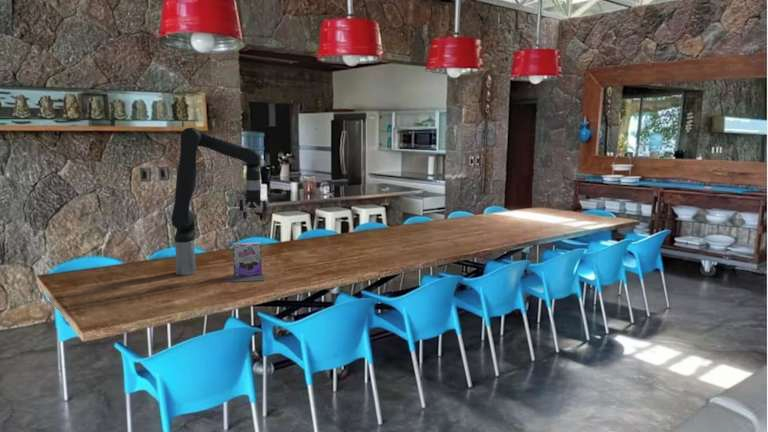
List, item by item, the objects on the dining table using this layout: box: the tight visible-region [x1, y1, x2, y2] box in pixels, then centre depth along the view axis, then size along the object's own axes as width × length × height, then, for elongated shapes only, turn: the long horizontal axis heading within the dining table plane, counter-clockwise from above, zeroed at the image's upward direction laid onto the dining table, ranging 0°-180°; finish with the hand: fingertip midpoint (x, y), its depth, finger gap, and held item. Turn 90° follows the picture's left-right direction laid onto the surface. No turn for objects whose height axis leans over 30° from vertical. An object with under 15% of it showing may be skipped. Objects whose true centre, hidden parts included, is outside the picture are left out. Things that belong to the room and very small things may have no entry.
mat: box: [226, 275, 266, 283], centre depth 268 cm, size 18×8×1 cm, turn 99°
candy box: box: [232, 241, 263, 277], centre depth 275 cm, size 14×6×16 cm, turn 105°
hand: (253, 219), depth 282 cm, fingers open, 8 cm apart
